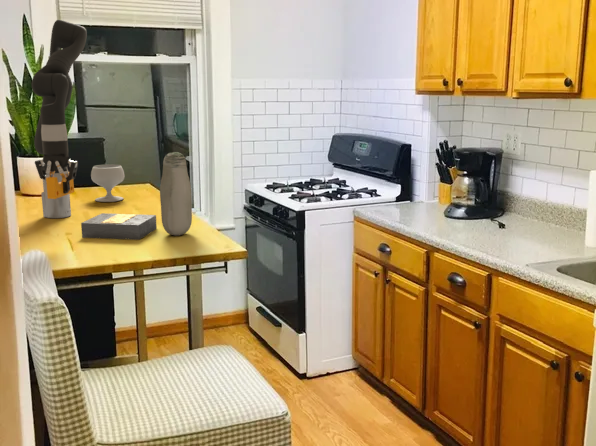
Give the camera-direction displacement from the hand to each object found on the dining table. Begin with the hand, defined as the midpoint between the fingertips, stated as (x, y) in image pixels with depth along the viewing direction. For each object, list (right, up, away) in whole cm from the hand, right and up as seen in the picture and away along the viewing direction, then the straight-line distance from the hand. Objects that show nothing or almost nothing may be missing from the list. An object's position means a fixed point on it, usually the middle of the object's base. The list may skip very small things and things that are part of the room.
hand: (58, 192), depth 205 cm
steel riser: (+15, -13, +16) cm, 26 cm away
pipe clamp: (0, -1, 0) cm, 1 cm away
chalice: (-6, 0, +76) cm, 77 cm away
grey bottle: (+35, -14, +14) cm, 40 cm away
